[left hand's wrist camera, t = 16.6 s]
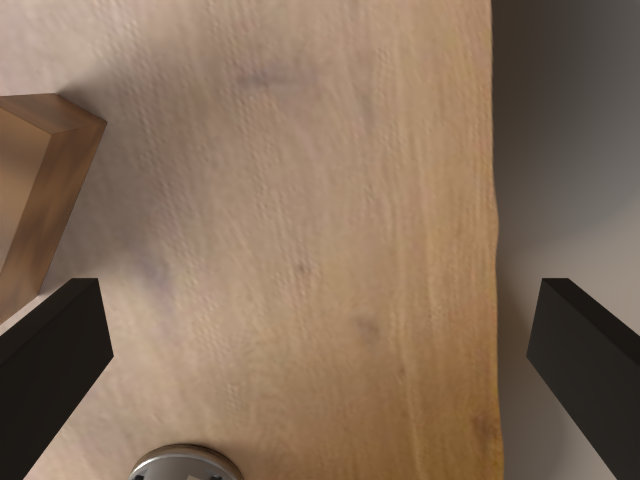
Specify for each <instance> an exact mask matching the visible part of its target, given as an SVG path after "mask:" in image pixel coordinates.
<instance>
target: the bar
mask: <svg viewBox="0 0 640 480" xmlns="http://www.w3.org/2000/svg"><path fill="white" fill-rule="evenodd" d="M106 125H107V122H106V121H104V120H102V119H100V118H98V117H97V116H95V115H93V114H91V113H89V112H88V111H86V110H84V109H82V108H80V107H79V106H77V105H75V104H73V103H71V102H70V101H68V100H66V99H64V98H62V97H60V96H59V95H57V94H55V93H48V94H31V95H14V96H0V325H1V324H2V323H3V322H5V321H6V320H7V319H8V318H10V317H11V316H12V315H14V314H15V313H16V312H17V311H19V310H20V309H21V308H23V307H24V306H25V305H27V304H28V303H29V302H30V301H32V300H33V299H34V298H36V297H37V295H38V293H39V290H40V288H41V285H42V283H43V280H44V278H45V275H46V273H47V270H48V268H49V265H50V263H51V260H52V258H53V256H54V253H55V251H56V248H57V246H58V243H59V241H60V238H61V236H62V233H63V231H64V228H65V226H66V223H67V221H68V218H69V216H70V214H71V211H72V209H73V206H74V204H75V201H76V199H77V196H78V194H79V191H80V189H81V186H82V184H83V181H84V179H85V176H86V174H87V172H88V169H89V167H90V164H91V162H92V159H93V157H94V154H95V152H96V149H97V147H98V144H99V142H100V139H101V137H102V134H103V132H104V130H105V127H106Z"/></svg>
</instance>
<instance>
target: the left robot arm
mask: <svg viewBox="0 0 640 480" xmlns="http://www.w3.org/2000/svg"><path fill="white" fill-rule="evenodd" d="M113 357H114V355H113V350H112V345H111V340H110V336H109V331H108V326H107V321H106V316H105V311H104V306H103V301H102V296H101V292H100V287H99V282H98V278H71V279H70V280H69V281H68V282H67V283H65V284H64V285H63V286H62V287H60V288H59V289H58V290H57V291H55V292H54V293H53V294H52V295H51V296H49V297H48V298H47V299H46V300H44V301H43V302H42V303H41V304H39V305H38V306H37V307H36V308H34V309H33V310H32V311H31V312H30V313H28V314H27V315H26V316H25V317H23V318H22V319H21V320H20V321H18V322H17V323H16V324H15V325H14V326H12V327H11V328H10V329H9V330H7V331H6V332H5V333H4V334H2V335H1V336H0V480H23V479H24V477H25V476H26V475H27V473H28V472H29V471H30V469H31V468H32V467H33V465H34V464H35V463H36V461H37V460H38V458H39V457H40V456H41V454H42V453H43V452H44V450H45V449H46V448H47V446H48V445H49V444H50V442H51V441H52V439H53V438H54V437H55V435H56V434H57V433H58V431H59V430H60V429H61V427H62V426H63V425H64V423H65V422H66V421H67V419H68V418H69V416H70V415H71V414H72V412H73V411H74V410H75V408H76V407H77V406H78V404H79V403H80V402H81V400H82V399H83V397H84V396H85V395H86V393H87V392H88V391H89V389H90V388H91V387H92V385H93V384H94V383H95V381H96V380H97V378H98V377H99V376H100V374H101V373H102V372H103V370H104V369H105V368H106V366H107V365H108V364H109V362H110V361H111V360H112V358H113ZM526 357H527V358H528V360H529V361H530V362H531V364H532V365H533V366H534V368H535V369H536V370H537V372H538V373H539V374H540V376H541V377H542V378H543V380H544V381H545V383H546V384H547V385H548V387H549V388H550V389H551V391H552V392H553V393H554V395H555V396H556V397H557V399H558V400H559V402H560V403H561V404H562V406H563V407H564V408H565V410H566V411H567V412H568V414H569V415H570V416H571V418H572V419H573V421H574V422H575V423H576V425H577V426H578V427H579V429H580V430H581V431H582V433H583V434H584V435H585V437H586V438H587V439H588V441H589V442H590V444H591V445H592V446H593V448H594V449H595V450H596V452H597V453H598V454H599V456H600V457H601V458H602V460H603V461H604V463H605V464H606V465H607V467H608V468H609V469H610V471H611V472H612V473H613V475H614V476H615V477H616V479H617V480H640V336H639V335H638V334H636V333H635V332H634V331H633V330H631V329H630V328H629V327H628V326H626V325H625V324H624V323H623V322H621V321H620V320H619V319H618V318H617V317H615V316H614V315H613V314H612V313H610V312H609V311H608V310H607V309H606V308H604V307H603V306H602V305H601V304H599V303H598V302H597V301H596V300H594V299H593V298H592V297H591V296H589V295H588V294H587V293H586V292H584V291H583V290H582V289H581V288H580V287H578V286H577V285H576V284H575V283H573V282H572V281H571V280H570V279H568V278H542V282H541V287H540V292H539V297H538V301H537V306H536V311H535V316H534V321H533V326H532V331H531V336H530V341H529V345H528V350H527V355H526ZM128 480H244V479H243V477H242V475H241V473H240V472H239V470H238V469H237V468H236V467H235V465H234V464H233V463H231V462H230V461H229V460H228V459H226V458H225V457H223V456H222V455H220V454H218V453H216V452H214V451H212V450H209V449H206V448H203V447H199V446H194V445H170V446H165V447H161V448H158V449H155V450H153V451H151V452H149V453H147V454H146V455H144V456H143V457H142V458H141V459H140V460H139V461H138V462H137V463H136V464H135V466H134V468H133V470H132V472H131V474H130V476H129V478H128Z"/></svg>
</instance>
